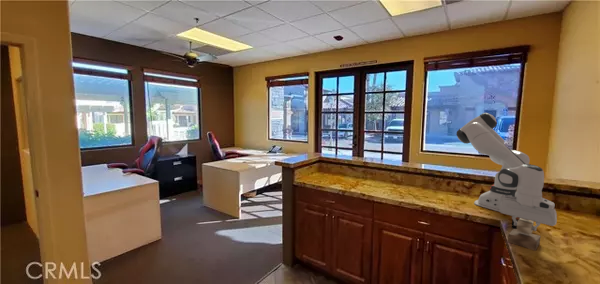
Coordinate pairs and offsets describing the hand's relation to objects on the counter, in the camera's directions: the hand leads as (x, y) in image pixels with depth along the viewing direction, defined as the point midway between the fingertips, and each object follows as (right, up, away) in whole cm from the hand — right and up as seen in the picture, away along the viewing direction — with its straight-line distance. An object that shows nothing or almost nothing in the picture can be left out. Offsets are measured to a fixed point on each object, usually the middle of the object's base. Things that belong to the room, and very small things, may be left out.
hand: (524, 227), depth 123 cm
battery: (+11, -6, +17) cm, 21 cm away
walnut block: (0, -7, +1) cm, 7 cm away
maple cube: (0, -2, 0) cm, 2 cm away
